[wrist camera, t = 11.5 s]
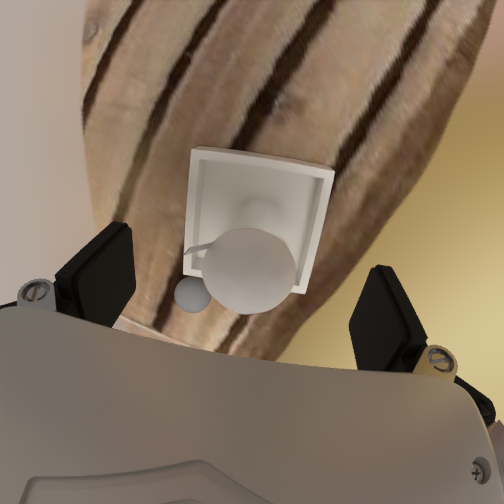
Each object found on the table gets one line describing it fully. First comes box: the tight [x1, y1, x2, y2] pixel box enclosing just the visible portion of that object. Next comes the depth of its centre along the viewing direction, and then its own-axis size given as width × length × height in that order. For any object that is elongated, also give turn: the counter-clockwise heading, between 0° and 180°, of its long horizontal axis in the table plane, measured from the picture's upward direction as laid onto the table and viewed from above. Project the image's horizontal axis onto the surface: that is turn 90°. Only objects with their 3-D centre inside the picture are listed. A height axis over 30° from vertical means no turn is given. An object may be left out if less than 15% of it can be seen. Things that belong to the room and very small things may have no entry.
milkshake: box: [184, 198, 296, 314], centre depth 17 cm, size 5×5×10 cm
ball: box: [175, 276, 211, 313], centre depth 24 cm, size 3×3×3 cm
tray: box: [183, 146, 335, 294], centre depth 21 cm, size 9×9×2 cm
